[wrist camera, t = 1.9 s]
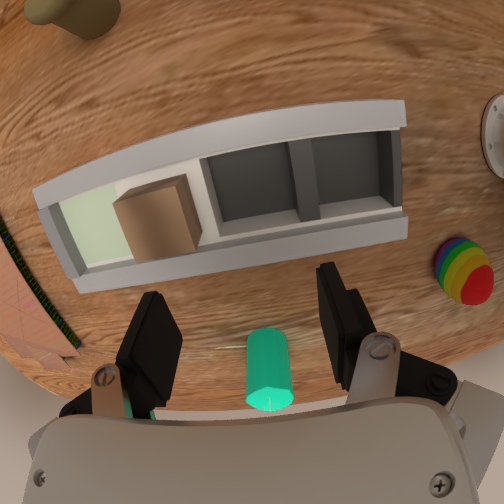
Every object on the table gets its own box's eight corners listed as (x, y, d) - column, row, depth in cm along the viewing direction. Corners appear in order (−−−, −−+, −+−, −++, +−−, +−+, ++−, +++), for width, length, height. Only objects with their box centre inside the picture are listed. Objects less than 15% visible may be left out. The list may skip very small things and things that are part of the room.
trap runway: (379, 98, 24) (406, 100, 19) (386, 217, 31) (409, 240, 26) (58, 175, 28) (29, 191, 23) (97, 269, 35) (78, 296, 29)
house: (35, 356, 48) (21, 381, 41) (-43, 239, 32) (-66, 259, 25) (95, 352, 45) (80, 386, 37) (-2, 196, 29) (-36, 218, 22)
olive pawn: (125, 23, 20) (70, -2, 10) (80, 48, 20) (16, 41, 11) (115, -14, 17) (65, -45, 7) (72, 12, 17) (13, -4, 8)
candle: (288, 351, 42) (295, 417, 32) (250, 355, 43) (250, 422, 32) (284, 325, 39) (293, 396, 29) (243, 330, 40) (241, 401, 29)
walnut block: (185, 173, 25) (175, 185, 21) (202, 231, 28) (196, 251, 24) (129, 188, 25) (112, 203, 22) (148, 242, 28) (136, 262, 25)
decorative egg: (475, 250, 33) (511, 288, 25) (441, 287, 37) (472, 329, 28) (456, 219, 31) (500, 256, 22) (419, 260, 34) (455, 306, 25)
